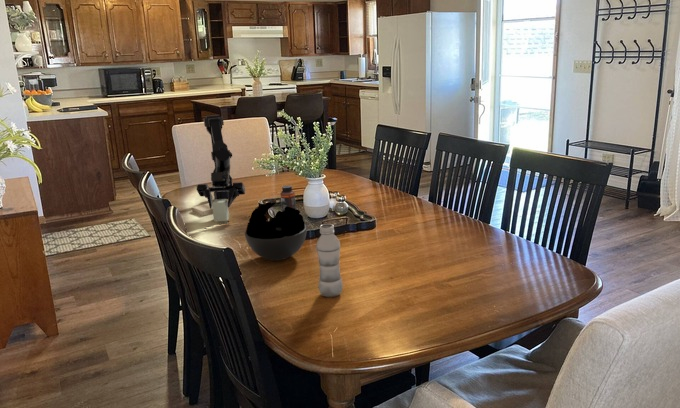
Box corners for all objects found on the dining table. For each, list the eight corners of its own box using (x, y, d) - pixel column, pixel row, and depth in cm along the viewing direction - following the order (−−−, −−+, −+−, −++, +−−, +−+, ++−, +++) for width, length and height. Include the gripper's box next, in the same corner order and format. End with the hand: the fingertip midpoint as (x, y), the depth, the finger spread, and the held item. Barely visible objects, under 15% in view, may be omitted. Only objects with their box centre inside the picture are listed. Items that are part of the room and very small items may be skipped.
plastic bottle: (318, 291, 161) (313, 223, 155) (342, 288, 161) (338, 221, 156) (319, 300, 154) (314, 230, 149) (344, 298, 155) (340, 228, 149)
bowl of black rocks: (241, 254, 193) (235, 201, 188) (297, 243, 200) (292, 192, 195) (257, 274, 175) (251, 216, 170) (317, 261, 182) (313, 205, 177)
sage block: (217, 220, 233) (214, 199, 231) (229, 220, 233) (227, 198, 231) (214, 224, 228) (211, 202, 226) (226, 223, 228) (224, 202, 226)
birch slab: (213, 206, 250) (212, 202, 250) (224, 210, 243) (224, 205, 242) (192, 211, 244) (191, 207, 243) (203, 216, 237) (202, 211, 236)
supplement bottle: (297, 210, 241) (295, 184, 238) (295, 214, 235) (292, 188, 232) (283, 210, 241) (281, 184, 238) (280, 214, 236) (278, 188, 233)
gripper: (194, 164, 229) (190, 198, 221) (240, 162, 228) (238, 196, 220) (202, 179, 238) (198, 212, 231) (246, 177, 237) (244, 210, 230)
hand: (219, 207), depth 228 cm, fingers open, 7 cm apart
